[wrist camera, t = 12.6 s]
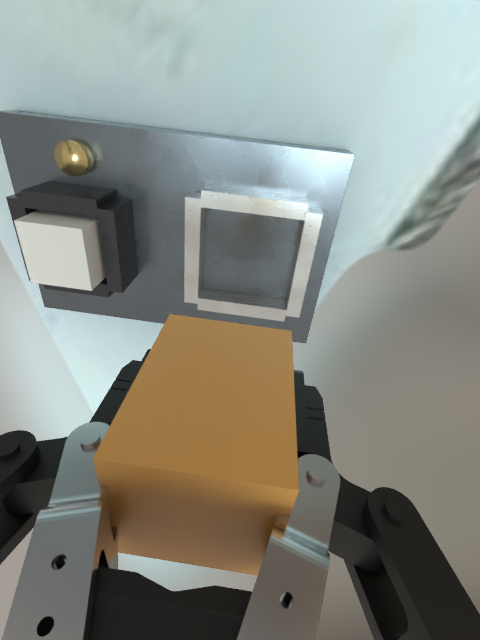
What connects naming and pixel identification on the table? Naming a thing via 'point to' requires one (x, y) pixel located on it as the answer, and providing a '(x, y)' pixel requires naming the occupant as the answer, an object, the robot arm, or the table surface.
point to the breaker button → (62, 249)
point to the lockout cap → (204, 446)
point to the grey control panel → (184, 217)
